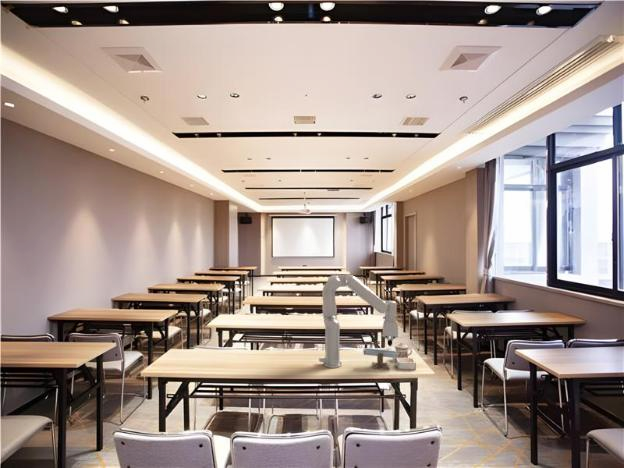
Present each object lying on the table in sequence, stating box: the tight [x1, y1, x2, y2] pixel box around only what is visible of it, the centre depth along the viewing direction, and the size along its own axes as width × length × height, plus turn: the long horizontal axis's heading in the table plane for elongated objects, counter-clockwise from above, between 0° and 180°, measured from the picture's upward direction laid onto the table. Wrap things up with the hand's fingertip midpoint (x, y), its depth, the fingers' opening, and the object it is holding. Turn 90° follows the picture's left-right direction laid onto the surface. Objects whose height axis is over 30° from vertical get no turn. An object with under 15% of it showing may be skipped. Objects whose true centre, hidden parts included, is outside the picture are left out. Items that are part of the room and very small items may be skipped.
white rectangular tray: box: [395, 357, 417, 371], centre depth 242 cm, size 11×9×4 cm
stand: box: [371, 354, 390, 370], centre depth 244 cm, size 10×11×10 cm
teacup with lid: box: [394, 341, 413, 358], centre depth 258 cm, size 12×9×12 cm
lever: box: [362, 347, 397, 359], centre depth 247 cm, size 22×13×3 cm, turn 84°
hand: (389, 345), depth 249 cm, fingers closed
